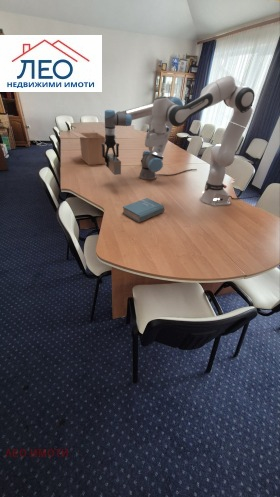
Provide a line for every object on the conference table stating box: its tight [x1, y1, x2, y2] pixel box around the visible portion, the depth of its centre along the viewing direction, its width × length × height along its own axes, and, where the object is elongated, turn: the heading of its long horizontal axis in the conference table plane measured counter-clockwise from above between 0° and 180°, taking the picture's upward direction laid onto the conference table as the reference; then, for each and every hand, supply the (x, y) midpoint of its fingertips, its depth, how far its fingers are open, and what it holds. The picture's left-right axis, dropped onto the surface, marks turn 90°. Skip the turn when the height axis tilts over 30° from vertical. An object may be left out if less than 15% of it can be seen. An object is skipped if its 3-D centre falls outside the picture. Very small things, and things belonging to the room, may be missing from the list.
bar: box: [107, 153, 122, 176], centre depth 170 cm, size 22×5×10 cm, turn 22°
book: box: [122, 197, 165, 224], centre depth 146 cm, size 23×16×5 cm
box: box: [70, 129, 106, 166], centre depth 229 cm, size 44×36×27 cm
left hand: (110, 166), depth 178 cm, fingers closed on bar, 5 cm apart
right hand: (155, 153), depth 142 cm, fingers open, 8 cm apart
